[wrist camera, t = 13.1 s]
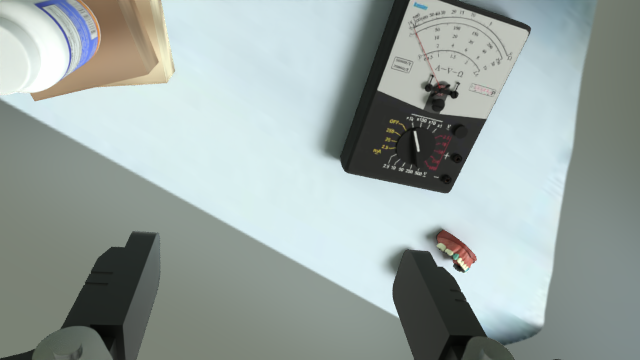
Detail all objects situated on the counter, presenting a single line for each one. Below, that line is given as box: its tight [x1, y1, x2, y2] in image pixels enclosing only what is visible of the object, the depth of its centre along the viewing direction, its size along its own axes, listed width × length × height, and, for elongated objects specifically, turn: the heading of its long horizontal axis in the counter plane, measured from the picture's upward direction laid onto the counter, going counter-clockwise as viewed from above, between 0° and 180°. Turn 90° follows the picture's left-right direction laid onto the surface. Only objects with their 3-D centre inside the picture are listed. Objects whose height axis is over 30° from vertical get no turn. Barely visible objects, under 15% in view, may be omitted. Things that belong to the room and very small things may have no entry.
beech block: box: [98, 0, 175, 87], centre depth 35 cm, size 11×11×4 cm
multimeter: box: [340, 0, 531, 193], centre depth 43 cm, size 13×19×5 cm
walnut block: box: [30, 0, 159, 101], centre depth 32 cm, size 9×9×4 cm
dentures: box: [437, 230, 477, 273], centre depth 54 cm, size 6×5×9 cm
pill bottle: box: [0, 0, 101, 95], centre depth 26 cm, size 5×5×10 cm
